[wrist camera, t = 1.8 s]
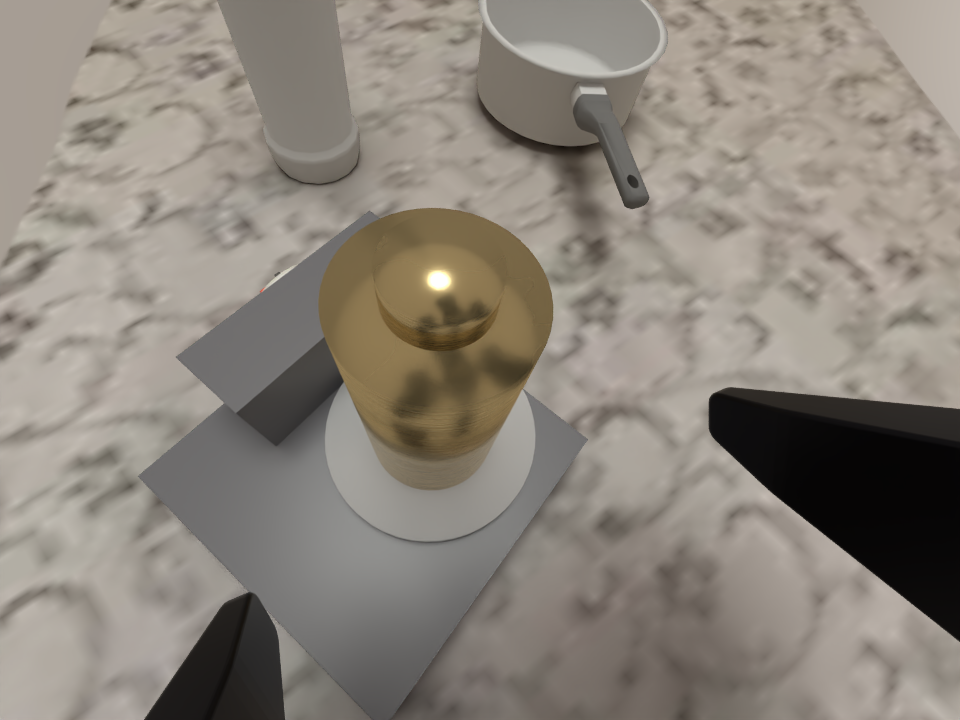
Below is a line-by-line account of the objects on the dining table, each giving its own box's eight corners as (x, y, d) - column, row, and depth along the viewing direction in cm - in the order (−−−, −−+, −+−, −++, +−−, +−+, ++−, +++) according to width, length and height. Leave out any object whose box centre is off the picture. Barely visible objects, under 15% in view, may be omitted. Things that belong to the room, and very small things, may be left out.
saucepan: (498, 273, 25) (517, 197, 20) (461, 50, 33) (467, -44, 28) (688, 266, 26) (750, 195, 21) (608, 56, 35) (639, -31, 30)
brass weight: (515, 422, 18) (614, 262, 8) (438, 518, 16) (456, 446, 7) (428, 353, 18) (429, 137, 9) (345, 435, 17) (244, 270, 7)
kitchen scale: (573, 449, 21) (630, 403, 15) (388, 708, 16) (367, 787, 10) (377, 295, 23) (361, 204, 17) (165, 480, 18) (44, 439, 12)
